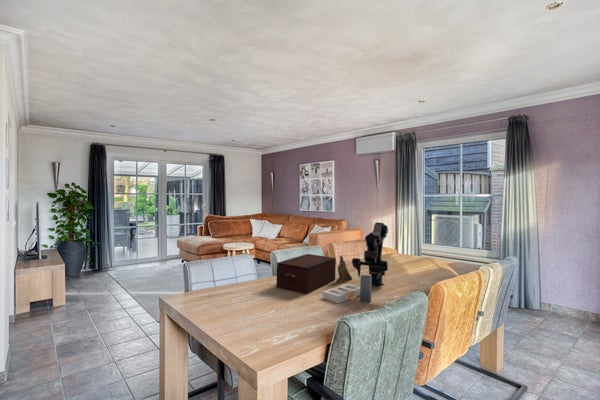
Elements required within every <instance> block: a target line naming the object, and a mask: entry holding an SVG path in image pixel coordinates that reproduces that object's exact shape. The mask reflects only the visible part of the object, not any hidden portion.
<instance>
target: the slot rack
mask: <svg viewBox="0 0 600 400" xmlns="http://www.w3.org/2000/svg"><path fill="white" fill-rule="evenodd" d="M357 297H360V286H358V285H355V284H354V285H353V284H349V283H346V284H342V285H340V286H337V287H333V288H330V289H327V290H322V299H324V300H327V301H330V302H333V303H337V304H340V303H342V302H346V301H354V300H356V299H358V298H357Z"/></svg>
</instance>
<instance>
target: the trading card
mask: <svg viewBox="0 0 600 400" xmlns="http://www.w3.org/2000/svg"><path fill="white" fill-rule="evenodd" d="M333 307H334V305H332V306H330V307H328V308H327V309H324V310H322V311H320V312H318V313H317V314H316V315H314V316H313V318H314V319H317V318H318V320H321V321H324V320H325V321H324V322H328V321H329V322H328V323H331V322H332V323H331V324H334V323H336V322H338V321H339V320H340V318H338V319H336V320H335V321H331V320H326V319H323V318H319V317H317V316H318V314H319V315H321V314H322V313H324V312H325V311H328V310H330V309H331V308H333ZM335 307H336V308H338V309H341V307H339V306H336V305H335ZM342 308H343V307H342ZM346 309H347V308H346ZM343 310H345V308H343ZM347 311H349V312H350V313H352V312H353V310H350V309H347ZM345 315H346V314H345ZM345 315H343V316H344V317H345Z"/></svg>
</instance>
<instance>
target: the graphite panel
mask: <svg viewBox="0 0 600 400" xmlns="http://www.w3.org/2000/svg"><path fill="white" fill-rule="evenodd" d="M371 277H372V276H371V275H366V274H360V281H359V284H360V286H359V287H360V295H359V302H362V303H368V304H370V303H371V302H372V284H371Z"/></svg>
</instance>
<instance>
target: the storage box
mask: <svg viewBox="0 0 600 400" xmlns="http://www.w3.org/2000/svg"><path fill="white" fill-rule="evenodd" d="M336 264H337V263H336V257H330V256H327V255H326V256H325V255H318V254H311V253H307V254H303V255H302V254H301V255H299V256H296V257H292V258H288V259H285V260H282V261H279V262H277V263H276V288H277V289H280V290H285V291H289V292H295V293H299V294H305V295H308V294H311V293H313V292H315V291H317V290H319V289H321V288H324V287H326V286H327V285H329V284H331V283H333V282H335V281H336V266H337V265H336Z"/></svg>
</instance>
